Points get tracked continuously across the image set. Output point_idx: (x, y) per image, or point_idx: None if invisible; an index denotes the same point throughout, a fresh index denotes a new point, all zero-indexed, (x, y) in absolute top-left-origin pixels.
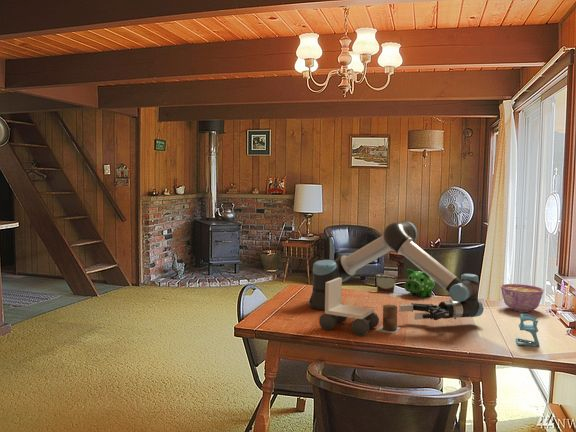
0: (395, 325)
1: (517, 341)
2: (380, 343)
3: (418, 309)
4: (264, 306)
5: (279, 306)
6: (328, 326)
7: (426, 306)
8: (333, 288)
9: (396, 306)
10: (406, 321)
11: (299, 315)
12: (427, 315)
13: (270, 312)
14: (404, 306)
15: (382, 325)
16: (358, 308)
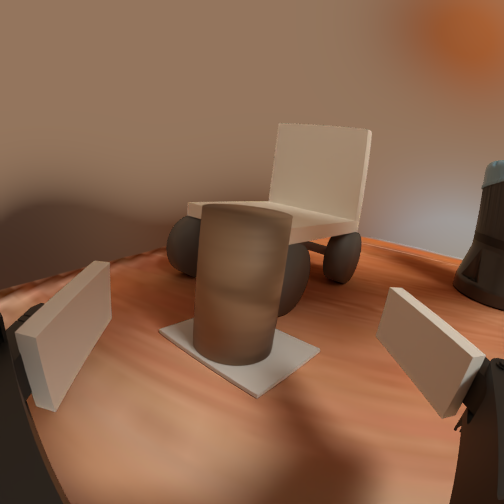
0: (197, 321)
1: None
2: None
3: (467, 450)
4: (430, 253)
5: (442, 261)
6: None
7: (496, 499)
8: (305, 146)
9: (237, 214)
10: (443, 474)
11: (388, 261)
12: (17, 326)
13: (392, 248)
14: (408, 314)
15: (306, 343)
16: (294, 217)
